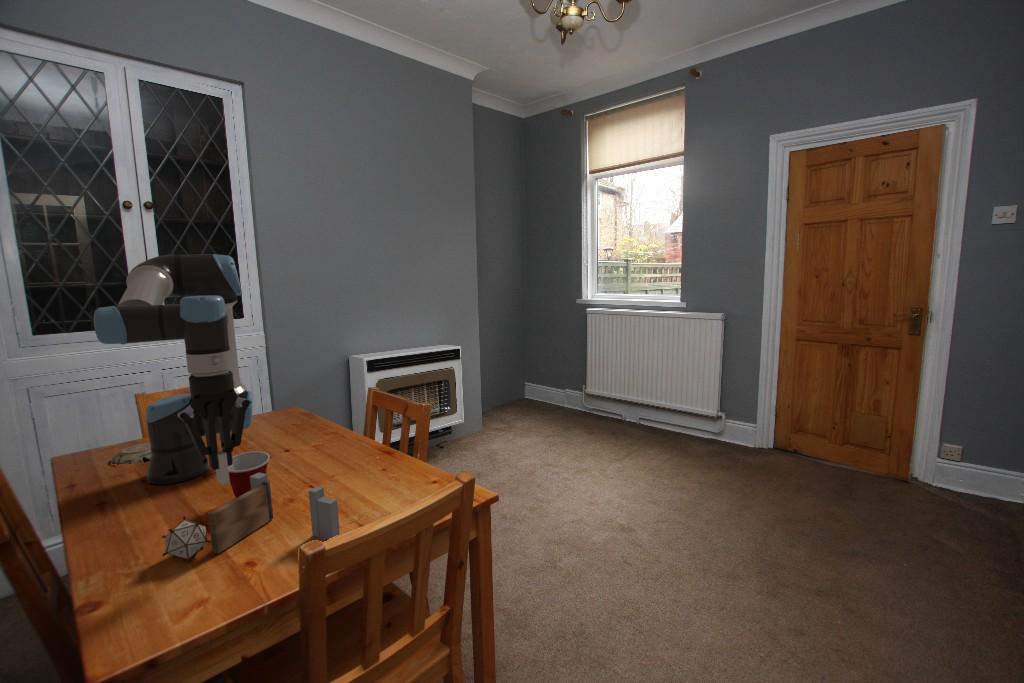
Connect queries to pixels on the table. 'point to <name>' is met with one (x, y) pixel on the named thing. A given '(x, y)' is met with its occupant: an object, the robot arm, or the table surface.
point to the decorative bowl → (132, 454)
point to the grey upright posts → (314, 509)
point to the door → (240, 517)
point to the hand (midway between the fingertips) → (223, 481)
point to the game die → (186, 539)
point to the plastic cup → (246, 470)
